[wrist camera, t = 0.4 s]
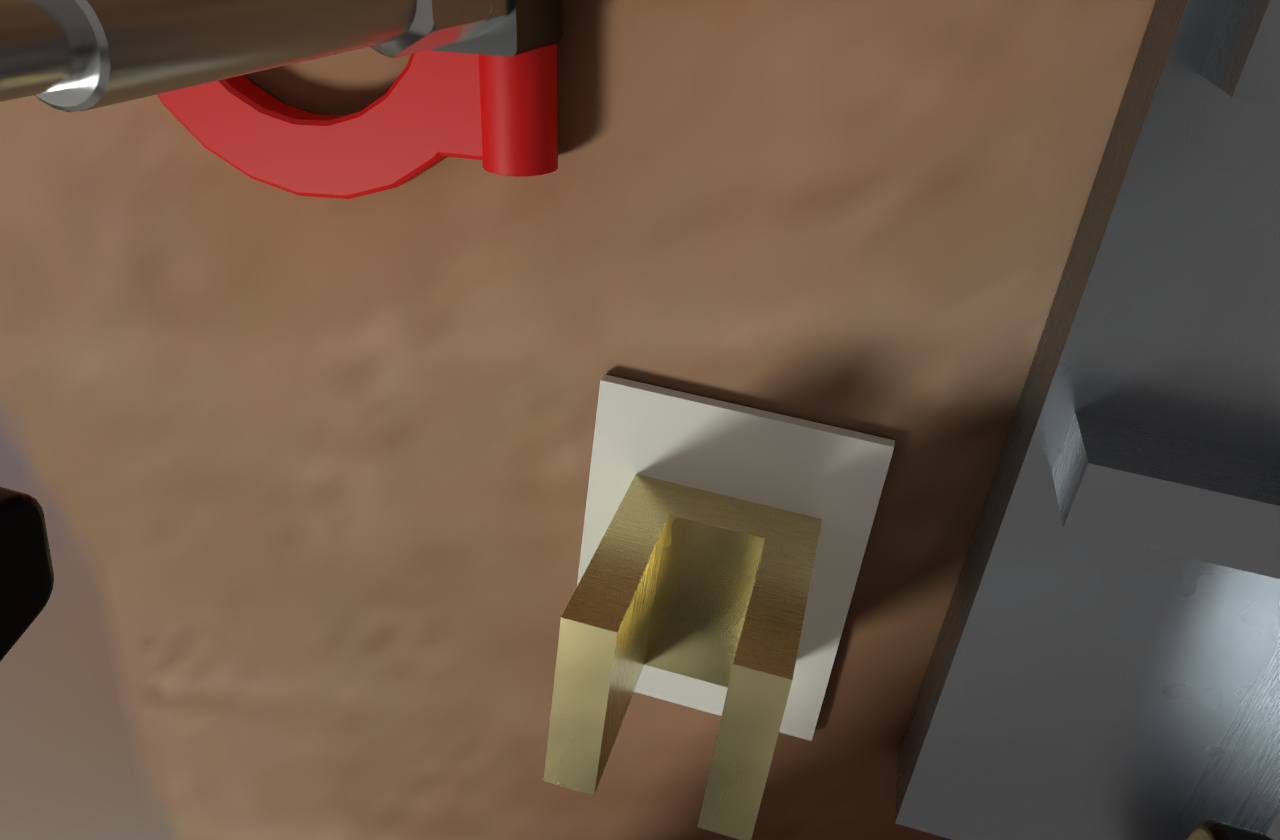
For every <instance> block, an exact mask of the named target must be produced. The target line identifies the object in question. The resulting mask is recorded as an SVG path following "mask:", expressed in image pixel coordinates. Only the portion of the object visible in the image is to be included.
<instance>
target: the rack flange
mask: <svg viewBox="0 0 1280 840" xmlns="http://www.w3.org/2000/svg"><path fill="white" fill-rule="evenodd" d="M1206 820H1216V821H1219V822H1223V823H1227V824H1230V825H1234V826H1238V827H1241V828H1245V829H1249V830H1252V831H1256V832H1259V833H1262V834H1264V835H1267V836H1269V837H1270V838H1272V839H1273V840H1280V0H1156V2H1155V5H1154V8H1153V11H1152V14H1151V17H1150V20H1149V23H1148V26H1147V28H1146V31H1145V34H1144V37H1143V40H1142V43H1141V46H1140V49H1139V52H1138V55H1137V58H1136V61H1135V64H1134V67H1133V69H1132V72H1131V75H1130V78H1129V81H1128V84H1127V87H1126V90H1125V93H1124V96H1123V99H1122V102H1121V105H1120V108H1119V110H1118V113H1117V116H1116V119H1115V122H1114V125H1113V128H1112V131H1111V134H1110V137H1109V140H1108V143H1107V146H1106V149H1105V151H1104V154H1103V157H1102V160H1101V163H1100V166H1099V169H1098V172H1097V175H1096V178H1095V181H1094V184H1093V187H1092V190H1091V192H1090V195H1089V198H1088V201H1087V204H1086V207H1085V210H1084V213H1083V216H1082V219H1081V222H1080V225H1079V228H1078V231H1077V233H1076V236H1075V239H1074V242H1073V245H1072V248H1071V251H1070V254H1069V257H1068V260H1067V263H1066V266H1065V269H1064V272H1063V274H1062V277H1061V280H1060V283H1059V286H1058V289H1057V292H1056V295H1055V298H1054V301H1053V304H1052V307H1051V310H1050V313H1049V315H1048V318H1047V321H1046V324H1045V327H1044V330H1043V333H1042V336H1041V339H1040V342H1039V345H1038V348H1037V351H1036V354H1035V356H1034V359H1033V362H1032V365H1031V368H1030V371H1029V374H1028V377H1027V380H1026V383H1025V386H1024V389H1023V392H1022V395H1021V397H1020V400H1019V403H1018V406H1017V409H1016V412H1015V415H1014V418H1013V421H1012V424H1011V427H1010V430H1009V433H1008V436H1007V438H1006V441H1005V444H1004V447H1003V450H1002V453H1001V456H1000V459H999V462H998V465H997V468H996V471H995V474H994V477H993V479H992V482H991V485H990V488H989V491H988V494H987V497H986V500H985V503H984V506H983V509H982V512H981V515H980V518H979V520H978V523H977V526H976V529H975V532H974V535H973V538H972V541H971V544H970V547H969V550H968V553H967V556H966V559H965V561H964V564H963V567H962V570H961V573H960V576H959V579H958V582H957V585H956V588H955V591H954V594H953V597H952V600H951V602H950V605H949V608H948V611H947V614H946V617H945V620H944V623H943V626H942V629H941V632H940V635H939V638H938V641H937V643H936V646H935V649H934V652H933V655H932V658H931V661H930V664H929V667H928V670H927V673H926V676H925V679H924V682H923V684H922V687H921V690H920V693H919V696H918V699H917V702H916V705H915V708H914V711H913V714H912V717H911V720H910V723H909V725H908V728H907V731H906V734H905V737H904V740H903V743H902V746H901V749H900V752H899V755H898V770H897V791H896V813H895V823H896V824H899V825H903V826H906V827H910V828H913V829H916V830H920V831H923V832H927V833H930V834H934V835H937V836H941V837H944V838H948V839H951V840H1186V839H1187V838H1188V836H1189V834H1190V832H1191V831H1192V830H1193V828H1194V827H1195V826H1196V825H1197V824H1199V823H1200V822H1202V821H1206Z"/></svg>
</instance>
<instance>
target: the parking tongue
mask: <svg viewBox="0 0 1280 840" xmlns="http://www.w3.org/2000/svg"><path fill="white" fill-rule="evenodd" d="M894 443H895V440H891V439H887V438H883V437H878V436H874V435H869V434H865V433H861V432H856V431H852V430H847V429H843V428H839V427H834V426H830V425H825V424H821V423H817V422H812V421H808V420H803V419H799V418H795V417H790V416H786V415H781V414H777V413H773V412H768V411H764V410H759V409H755V408H751V407H746V406H742V405H738V404H733V403H729V402H724V401H720V400H716V399H711V398H707V397H702V396H698V395H694V394H689V393H685V392H680V391H676V390H672V389H667V388H663V387H658V386H654V385H650V384H645V383H641V382H636V381H632V380H628V379H623V378H619V377H614V376H610V375H606V374H605V375H604V376H603V377H602V379H601V381H600V389H599V398H598V407H597V416H596V424H595V433H594V442H593V450H592V459H591V468H590V477H589V485H588V494H587V503H586V512H585V520H584V529H583V538H582V546H581V555H580V564H579V573H578V581H577V586H578V584H579V582H580V580H581V578H582V576H583V574H584V573H585V571H586V569H587V567H588V565H589V563H590V561H591V559H592V557H593V555H594V553H595V551H596V550H597V548H598V546H599V544H600V542H601V540H602V538H603V536H604V534H605V532H606V530H607V528H608V527H609V525H610V523H611V521H612V519H613V517H614V515H615V513H616V511H617V509H618V507H619V505H620V503H621V502H622V500H623V498H624V496H625V494H626V492H627V490H628V488H629V486H630V484H631V482H632V480H633V479H634V477H635V475H636V474H638V475H642V476H646V477H651V478H655V479H659V480H663V481H667V482H671V483H675V484H679V485H683V486H688V487H692V488H696V489H700V490H704V491H708V492H712V493H716V494H720V495H725V496H729V497H733V498H737V499H741V500H745V501H749V502H753V503H758V504H762V505H766V506H770V507H774V508H778V509H782V510H786V511H790V512H795V513H799V514H803V515H807V516H811V517H815V518H819V519H822V523H821V529H820V534H819V539H818V545H817V550H816V556H815V561H814V566H813V572H812V577H811V583H810V588H809V593H808V599H807V604H806V610H805V615H804V620H803V626H802V631H801V637H800V642H799V647H798V653H797V658H796V664H795V669H794V674H793V680H792V684H791V688H790V692H789V695H788V699H787V703H786V707H785V711H784V715H783V719H782V723H781V726H780V730H779V732H781V733H784V734H788V735H791V736H795V737H798V738H802V739H806V740H809V741H812V738H813V734H814V731H815V727H816V724H817V720H818V717H819V713H820V710H821V706H822V702H823V699H824V695H825V692H826V688H827V685H828V681H829V677H830V674H831V670H832V667H833V663H834V660H835V656H836V653H837V649H838V645H839V642H840V638H841V635H842V631H843V628H844V624H845V621H846V617H847V613H848V610H849V606H850V603H851V599H852V596H853V592H854V589H855V585H856V581H857V578H858V574H859V571H860V567H861V564H862V560H863V557H864V553H865V549H866V546H867V542H868V539H869V535H870V532H871V528H872V525H873V521H874V517H875V514H876V510H877V507H878V503H879V500H880V496H881V493H882V489H883V485H884V482H885V478H886V475H887V471H888V468H889V464H890V460H891V457H892V453H893V450H894ZM727 689H728V688H727V687H724V686H720V685H716V684H713V683H709V682H705V681H702V680H698V679H695V678H691V677H687V676H684V675H680V674H676V673H673V672H669V671H665V670H662V669H658V668H654V667H651V666H647V665H644V666H643V669H642V672H641V674H640V677H639V679H638V682H637V685H636V687H635V690H634V692H637V693H641V694H645V695H648V696H652V697H655V698H659V699H663V700H666V701H670V702H673V703H677V704H680V705H684V706H688V707H691V708H695V709H698V710H702V711H705V712H709V713H713V714H716V715H720V716H722V712H723V707H724V703H725V698H726V693H727Z"/></svg>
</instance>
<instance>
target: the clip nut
mask: <svg viewBox="0 0 1280 840" xmlns="http://www.w3.org/2000/svg"><path fill="white" fill-rule="evenodd" d="M821 523H822V519H819V518H815V517H811V516H807V515H803V514H799V513H795V512H790V511H786V510H782V509H778V508H774V507H770V506H766V505H762V504H758V503H753V502H749V501H745V500H741V499H737V498H733V497H729V496H725V495H720V494H716V493H712V492H708V491H704V490H700V489H696V488H692V487H688V486H683V485H679V484H675V483H671V482H667V481H663V480H659V479H655V478H651V477H646V476H642V475H638V474H636V475H635V477H634V479H633V480H632V482H631V484H630V486H629V488H628V490H627V492H626V494H625V496H624V498H623V500H622V502H621V503H620V505H619V507H618V509H617V511H616V513H615V515H614V517H613V519H612V521H611V523H610V525H609V527H608V528H607V530H606V532H605V534H604V536H603V538H602V540H601V542H600V544H599V546H598V548H597V550H596V551H595V553H594V555H593V557H592V559H591V561H590V563H589V565H588V567H587V569H586V571H585V573H584V574H583V576H582V578H581V580H580V582H579V584H578V586H577V588H576V590H575V592H574V594H573V596H572V598H571V599H570V601H569V603H568V605H567V607H566V609H565V611H564V613H563V615H562V617H561V623H560V633H559V642H558V651H557V661H556V670H555V679H554V689H553V698H552V707H551V717H550V726H549V735H548V745H547V754H546V763H545V773H544V781H545V782H548V783H551V784H555V785H558V786H561V787H565V788H568V789H571V790H575V791H578V792H581V793H585V794H588V795H592V796H594V795H595V792H596V790H597V787H598V784H599V782H600V779H601V776H602V774H603V771H604V769H605V766H606V763H607V761H608V758H609V755H610V753H611V750H612V748H613V745H614V742H615V740H616V737H617V735H618V732H619V729H620V727H621V724H622V721H623V719H624V716H625V714H626V711H627V708H628V706H629V703H630V700H631V698H632V695H633V693H634V690H635V687H636V685H637V682H638V679H639V677H640V674H641V672H642V669H643V666H644V665H647V666H651V667H654V668H658V669H662V670H665V671H669V672H673V673H676V674H680V675H684V676H687V677H691V678H695V679H698V680H702V681H705V682H709V683H713V684H716V685H720V686H724V687H727V688H728V689H727V693H726V698H725V703H724V707H723V712H722V716H721V721H720V726H719V730H718V735H717V739H716V744H715V748H714V753H713V758H712V762H711V767H710V771H709V776H708V781H707V785H706V790H705V794H704V799H703V803H702V808H701V813H700V817H699V822H698V826H697V827H698V828H702V829H705V830H708V831H712V832H715V833H718V834H722V835H725V836H728V837H732V838H735V839H739V840H751V839H752V835H753V831H754V827H755V823H756V819H757V816H758V812H759V808H760V804H761V800H762V796H763V792H764V788H765V785H766V781H767V777H768V773H769V769H770V765H771V761H772V757H773V754H774V750H775V746H776V742H777V738H778V734H779V730H780V726H781V723H782V719H783V715H784V711H785V707H786V703H787V699H788V695H789V692H790V688H791V684H792V680H793V674H794V669H795V664H796V658H797V653H798V647H799V642H800V637H801V631H802V626H803V620H804V615H805V610H806V604H807V599H808V593H809V588H810V583H811V577H812V572H813V566H814V561H815V556H816V550H817V545H818V539H819V534H820V529H821Z"/></svg>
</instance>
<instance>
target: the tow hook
mask: <svg viewBox="0 0 1280 840" xmlns="http://www.w3.org/2000/svg"><path fill="white" fill-rule="evenodd" d="M561 38H562V0H0V102H1V101H6V100H12V99H17V98H22V97H27V96H32V95H34V96H35V97H37V98H38V99H39V100H40V101H42V102H44V103H45V104H47V105H49V106H51V107H53V108H55V109H58V110H62V111H66V112H78V111H85V110H90V109H94V108H98V107H103V106H107V105H112V104H116V103H121V102H125V101H130V100H134V99H139V98H143V97H147V96H152V95H156V94H157V95H158V97H159V98H160V100H161V101H162V103H163V104H164V106H165V107H166V108H167V109H168V110H169V111H170V112H171V113H172V114H173V115H174V116H175V117H176V118H177V119H178V120H179V121H180V122H181V123H182V124H183V125H184V126H185V127H186V128H187V129H188V130H189V132H190V133H191V134H192V135H193V136H194V137H195V138H196V139H197V140H198V141H199V142H200V143H201V144H202V145H203V146H204V147H205V148H206V149H208V150H209V151H211V152H213V153H214V154H216V155H217V156H219V157H220V158H222V159H223V160H225V161H226V162H228V163H229V164H231V165H232V166H234V167H235V168H237V169H238V170H240V171H241V172H243V173H244V174H246V175H247V176H249V177H250V178H252V179H255V180H258V181H261V182H263V183H266V184H269V185H272V186H274V187H277V188H280V189H283V190H286V191H288V192H291V193H294V194H297V195H300V196H313V197H328V198H342V199H350V198H354V197H359V196H363V195H367V194H371V193H375V192H379V191H383V190H387V189H391V188H395V187H397V186H400V185H402V184H404V183H406V182H408V181H410V180H412V179H413V178H415V177H417V176H418V175H420V174H421V173H423V172H425V171H426V170H428V169H429V168H431V167H433V166H434V165H436V164H437V163H439V162H440V161H442V160H444V159H445V158H447V157H448V156H449V157H459V158H468V159H478V160H483V168H484V169H485V170H486V171H488V172H491V173H495V174H500V175H506V176H536V175H542V174H547V173H551V172H553V171H555V170H556V169H558V134H557V42H559V41H560V40H561ZM365 47H371V48H372V49H374V50H375V51H377V52H378V53H380V54H382V55H384V56H386V57H390V58H398V57H402V56H406V55H409V54H411V57H410V59H409V62H408V65H407V66H406V68H405V69H404V70H403V72H402V73H401V74H400V76H399V77H398V78H397V80H396V81H395V82H394V83H393V85H392V86H391V87H390V89H389V90H388V91H387V93H386V94H384V95H383V96H382V97H380V98H379V99H377V100H376V101H374V102H373V103H372V104H370V105H369V106H367V107H366V108H364V109H363V110H362V111H359V112H356V113H352V114H349V115H327V114H313V113H310V112H307V111H304V110H301V109H298V108H295V107H292V106H290V105H287V104H284V103H281V102H280V101H278V100H277V99H275V98H274V97H272V96H271V95H269V94H268V93H266V92H265V91H263V90H262V89H260V88H259V87H257V86H256V85H254V84H253V83H252V82H251V81H250V80H249V79H248V78H247V77H246V76H245V74H250V73H254V72H259V71H263V70H268V69H272V68H276V67H281V66H285V65H290V64H294V63H299V62H303V61H308V60H312V59H317V58H321V57H325V56H330V55H334V54H339V53H343V52H348V51H352V50H357V49H361V48H365Z"/></svg>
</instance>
